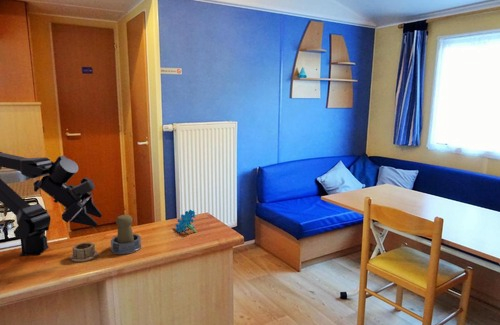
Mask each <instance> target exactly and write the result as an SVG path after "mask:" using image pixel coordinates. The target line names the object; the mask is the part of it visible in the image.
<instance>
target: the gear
mask: <svg viewBox="0 0 500 325" xmlns="http://www.w3.org/2000/svg"><path fill="white" fill-rule="evenodd" d="M196 217H197V215H196V211H195V210H192V209H189V210H185V211H184V214H183V213H182V214H180V218H178V219H177V220H176V222H177V223H176V224H175V225H174V227H175V231H176V232H178V233H182V232H186V230H187V229H188V230H189V231H193V232H194V233H195V234H196V233H197V232H198V231H197V230H196V229H195V225H193V223H194V221H195V219H194V218H196Z"/></svg>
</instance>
